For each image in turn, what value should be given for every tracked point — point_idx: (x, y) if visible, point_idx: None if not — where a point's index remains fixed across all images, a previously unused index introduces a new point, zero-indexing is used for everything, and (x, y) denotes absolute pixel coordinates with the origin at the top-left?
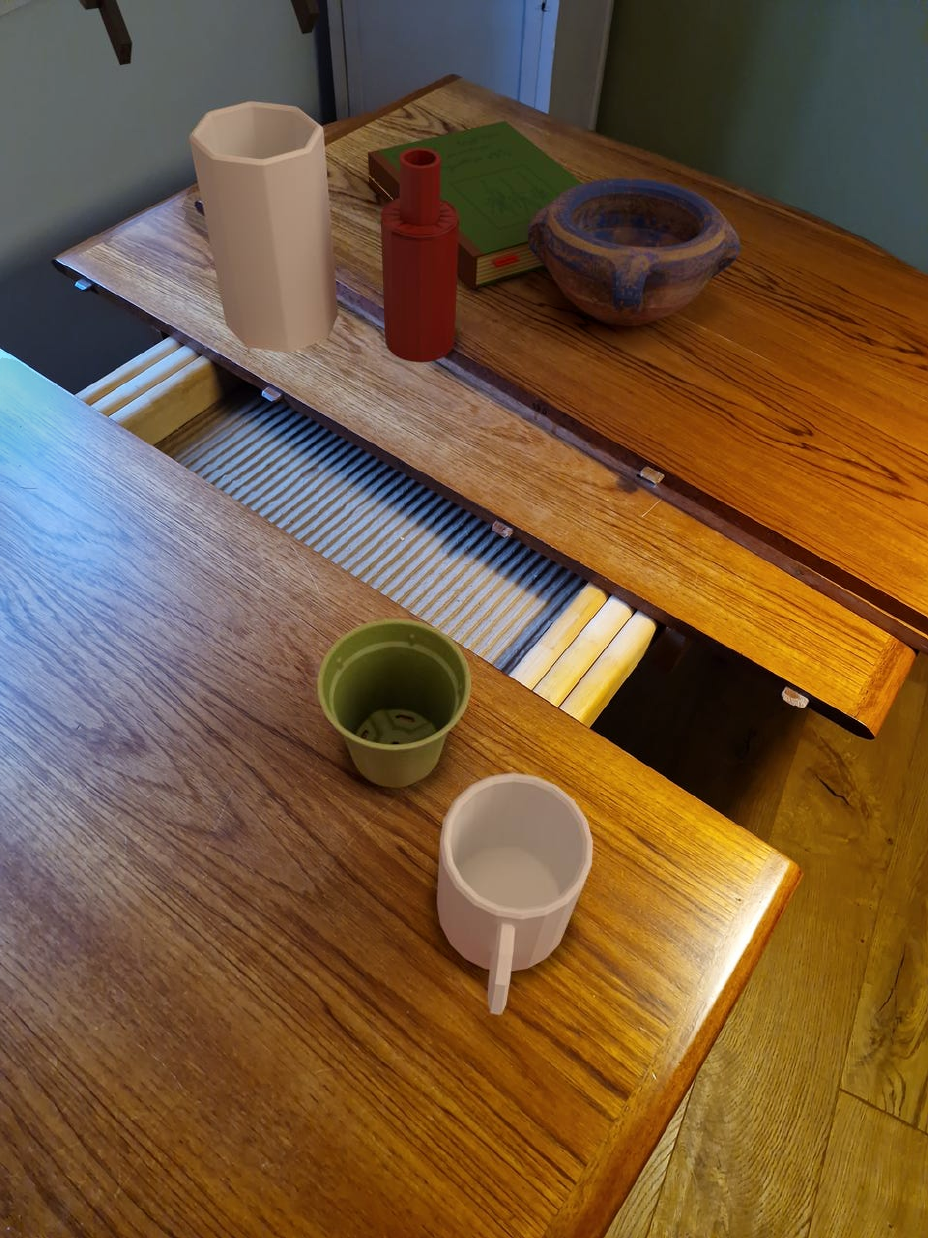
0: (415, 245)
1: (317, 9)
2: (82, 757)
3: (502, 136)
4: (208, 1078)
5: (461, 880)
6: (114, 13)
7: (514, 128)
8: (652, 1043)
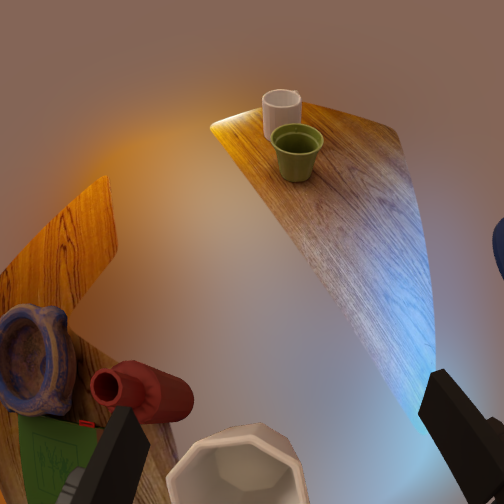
0: (150, 367)
1: (117, 409)
2: (397, 203)
3: None
4: (360, 131)
5: (298, 96)
6: (458, 395)
7: None
8: (262, 110)
